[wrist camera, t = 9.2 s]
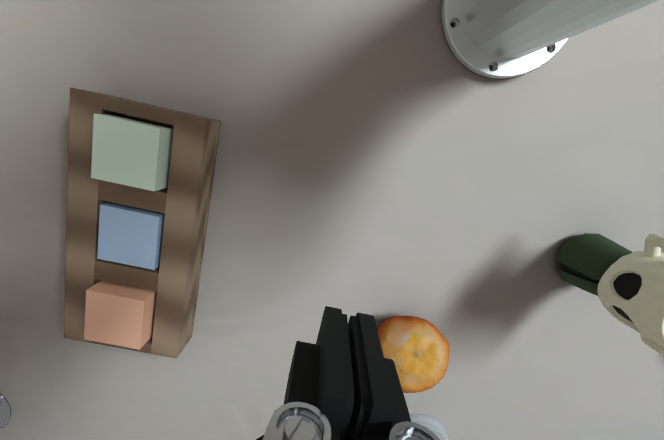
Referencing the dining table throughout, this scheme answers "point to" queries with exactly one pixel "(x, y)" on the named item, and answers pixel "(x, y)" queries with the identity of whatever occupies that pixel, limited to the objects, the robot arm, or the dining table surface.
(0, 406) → the wine glass
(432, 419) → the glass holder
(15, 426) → the dining table surface
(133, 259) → the slate key
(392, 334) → the fruit
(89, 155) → the key panel
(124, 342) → the terracotta key
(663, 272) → the character mug
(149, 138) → the sage key
